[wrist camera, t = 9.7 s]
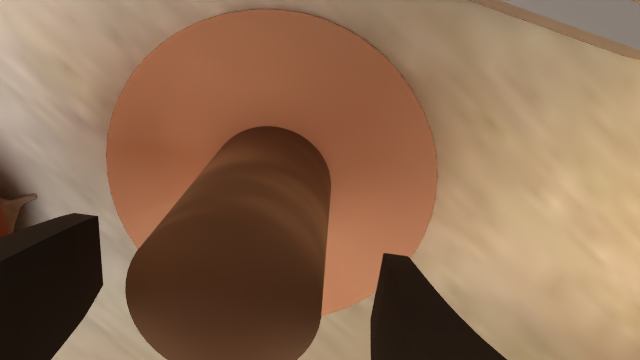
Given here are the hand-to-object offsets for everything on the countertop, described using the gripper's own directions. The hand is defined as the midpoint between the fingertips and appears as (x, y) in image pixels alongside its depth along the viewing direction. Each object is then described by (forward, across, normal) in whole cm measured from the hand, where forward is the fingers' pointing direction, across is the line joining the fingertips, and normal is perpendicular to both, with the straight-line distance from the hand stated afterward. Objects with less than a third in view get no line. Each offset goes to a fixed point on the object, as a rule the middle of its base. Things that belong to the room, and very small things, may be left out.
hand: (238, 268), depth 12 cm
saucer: (+6, 0, 0) cm, 6 cm away
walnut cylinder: (+6, 0, 0) cm, 6 cm away
